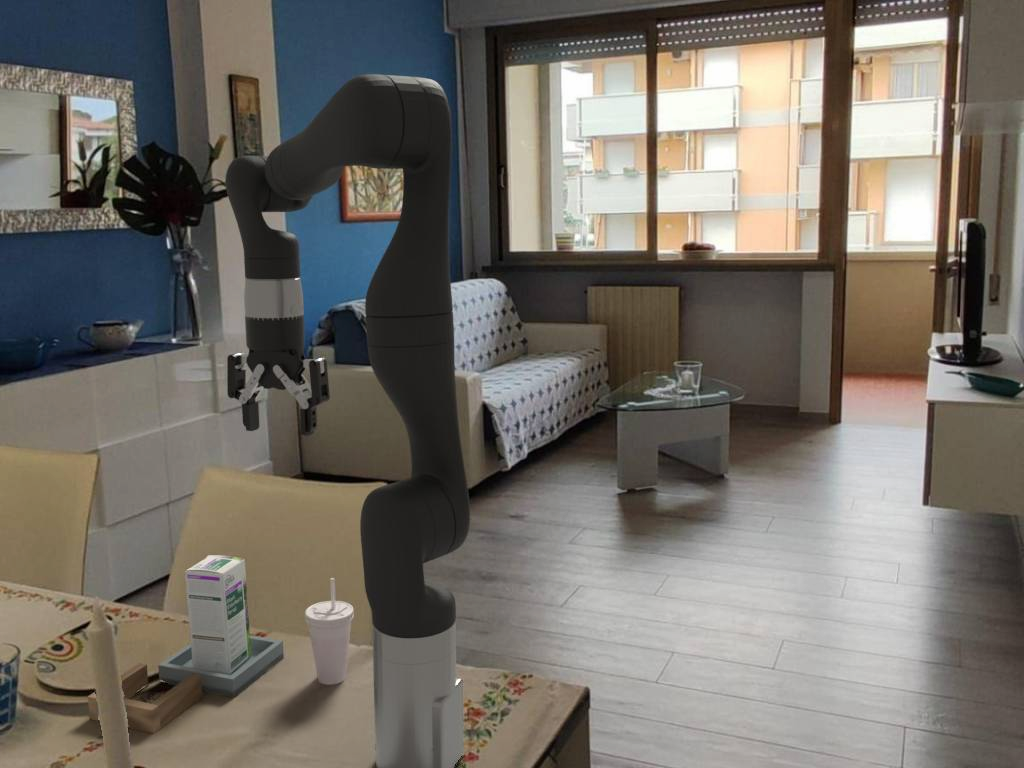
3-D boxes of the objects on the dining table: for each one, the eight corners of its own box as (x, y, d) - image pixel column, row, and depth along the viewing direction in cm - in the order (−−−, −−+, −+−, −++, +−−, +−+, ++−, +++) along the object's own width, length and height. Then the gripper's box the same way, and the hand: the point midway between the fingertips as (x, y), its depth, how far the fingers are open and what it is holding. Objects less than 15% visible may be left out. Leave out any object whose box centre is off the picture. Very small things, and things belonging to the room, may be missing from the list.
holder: (201, 696, 125) (200, 675, 124) (153, 733, 116) (152, 710, 116) (140, 684, 128) (139, 663, 127) (89, 719, 119) (87, 696, 119)
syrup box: (230, 676, 128) (224, 572, 125) (190, 670, 130) (183, 568, 127) (252, 656, 134) (246, 557, 131) (213, 651, 135) (207, 553, 132)
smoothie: (360, 684, 128) (357, 584, 125) (311, 693, 125) (307, 591, 123) (350, 663, 134) (347, 567, 131) (303, 671, 131) (299, 573, 129)
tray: (283, 657, 135) (282, 640, 135) (234, 697, 124) (232, 679, 124) (213, 644, 139) (212, 628, 138) (159, 682, 128) (158, 664, 128)
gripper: (336, 311, 128) (340, 430, 131) (244, 307, 133) (250, 422, 136) (306, 318, 121) (311, 443, 124) (210, 313, 126) (217, 434, 129)
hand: (279, 432), depth 130 cm, fingers open, 8 cm apart
